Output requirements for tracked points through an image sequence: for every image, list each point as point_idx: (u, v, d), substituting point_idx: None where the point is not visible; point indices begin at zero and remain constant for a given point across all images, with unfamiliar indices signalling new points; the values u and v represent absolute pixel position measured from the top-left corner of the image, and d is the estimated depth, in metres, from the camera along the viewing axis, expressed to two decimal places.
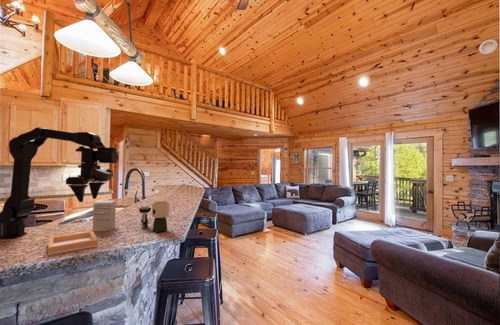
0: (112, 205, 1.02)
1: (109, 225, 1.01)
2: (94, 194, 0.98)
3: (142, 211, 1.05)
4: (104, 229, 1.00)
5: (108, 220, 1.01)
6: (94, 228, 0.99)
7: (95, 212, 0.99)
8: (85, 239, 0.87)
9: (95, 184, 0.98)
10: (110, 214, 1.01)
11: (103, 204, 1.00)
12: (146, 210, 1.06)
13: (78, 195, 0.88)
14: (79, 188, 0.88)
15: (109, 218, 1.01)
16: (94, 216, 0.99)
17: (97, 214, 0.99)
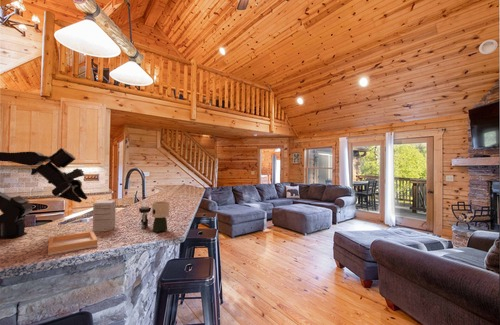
0: (112, 205, 1.02)
1: (109, 225, 1.01)
2: (83, 196, 1.04)
3: (142, 211, 1.05)
4: (104, 229, 1.00)
5: (108, 220, 1.01)
6: (94, 228, 0.99)
7: (95, 212, 0.99)
8: (85, 239, 0.87)
9: (75, 189, 1.03)
10: (110, 214, 1.01)
11: (103, 204, 1.00)
12: (146, 210, 1.06)
13: (74, 198, 0.94)
14: (69, 193, 0.93)
15: (109, 218, 1.01)
16: (94, 216, 0.99)
17: (97, 214, 0.99)
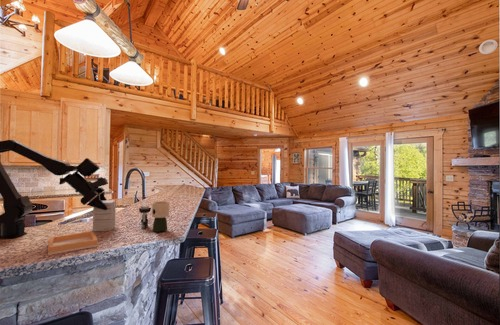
0: (112, 205, 1.02)
1: (109, 225, 1.01)
2: None
3: (142, 211, 1.05)
4: (104, 229, 1.00)
5: (108, 220, 1.01)
6: (94, 228, 0.99)
7: (95, 212, 0.99)
8: (85, 239, 0.87)
9: None
10: (110, 214, 1.01)
11: None
12: (146, 210, 1.06)
13: (100, 206, 0.99)
14: (96, 201, 0.98)
15: (109, 218, 1.01)
16: (94, 216, 0.99)
17: (97, 214, 0.99)
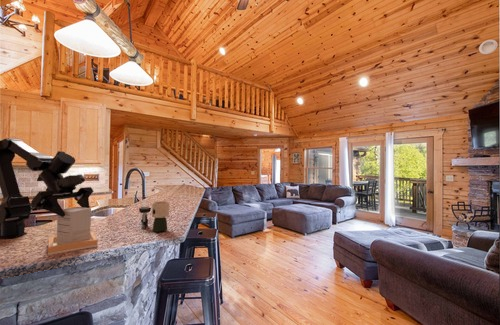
0: (75, 215, 0.80)
1: (69, 240, 0.78)
2: (86, 207, 0.87)
3: (142, 211, 1.05)
4: None
5: (68, 234, 0.78)
6: (57, 241, 0.80)
7: (58, 221, 0.80)
8: None
9: (81, 199, 0.88)
10: (70, 226, 0.78)
11: (64, 212, 0.79)
12: (146, 210, 1.06)
13: (57, 211, 0.77)
14: (52, 204, 0.77)
15: (69, 231, 0.78)
16: (57, 226, 0.80)
17: (59, 224, 0.80)
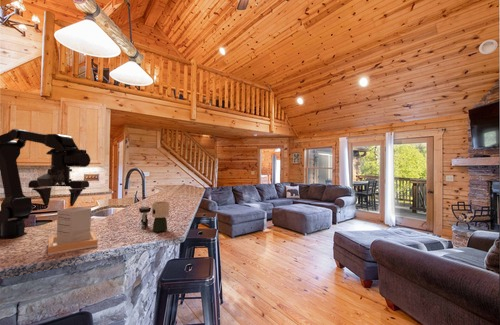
0: (75, 215, 0.80)
1: (69, 240, 0.78)
2: None
3: (142, 211, 1.05)
4: None
5: (68, 234, 0.78)
6: (57, 241, 0.80)
7: (58, 221, 0.80)
8: None
9: None
10: (70, 226, 0.78)
11: (64, 212, 0.79)
12: (146, 210, 1.06)
13: None
14: None
15: (69, 231, 0.78)
16: (57, 226, 0.80)
17: (59, 224, 0.80)
